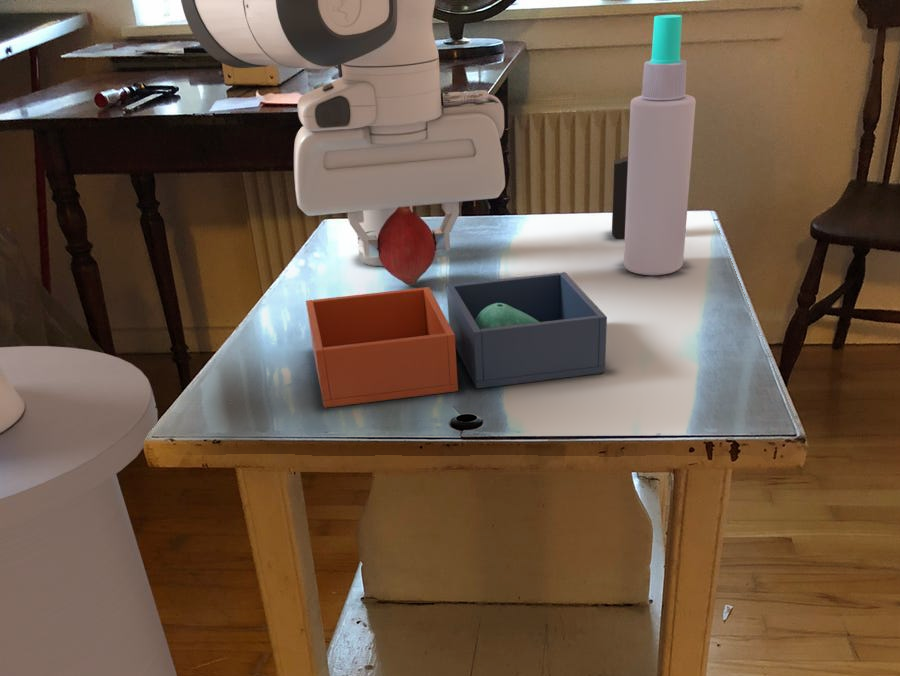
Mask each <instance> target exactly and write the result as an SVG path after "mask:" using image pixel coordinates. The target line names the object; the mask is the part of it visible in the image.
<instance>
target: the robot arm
mask: <svg viewBox="0 0 900 676" xmlns="http://www.w3.org/2000/svg"><path fill="white" fill-rule="evenodd" d="M180 3H181V6H182V10H183V14H184V17H185V20H186V22H187V25H188V27H189V29H190V31H191V33H192V34H193V36H194V38H195V39H196V41H197V42H198V44H199V45H200V46H201V47H202V48H203V50H204V51H205V52H206V53H208V55H209V56H211V57H212V58H213V59H215V60H216V61H218V62H219V63H221V64H222V65H225V66H228V67H230V68H231V67H232V68H236V69H251V68H265V67H276V68H285V69H286V68H287V69H309V70H328V69H331V68H335V67H338V65H341V67H342V75H343V76H342V77H341V78H340V77H338V78H336V79H335V80H333V81H331V82H329V83H326V84H323V85H321V86H319V87H318V88H315V89H312V90H310V91H308V92H306V93H304V94H303V95H301V96H300V97H299V99H298V101H297V116H298V119H299V121H300V123H301V125H302V126H301V127H300V129H299V130H298V131H297V132H296V135H295V139H294V144H293V145H294V147H293V178H294V190H295V199H296V205H297V207H298V209H300V210H301V212H303V214H305V215H306V216H308V217H312V216H313V217H314V216H322V215H333V214H334V215H335V214H343V213H346V214H347V220H348V222H349V225H350V226H351V228H352V229H353V230H354V232H355V234H356V236H357V235H358V236H359V238H360V239H361V241H362V249H363V255H364V258H374V257H379V250H378V249H377V248H378V239H377V238H376V235H369V236H368V235H367V234H366V232H365V231H364V229H363V228H362V226H361V225H360V224H359V223H363V222H364V217H363V211H366V210H376V209H387V208H397V207H408V206H412V207H418V206H427V205H428V206H429V205H438V204H441V209H442V211H443V212H444V213H445V215H444V218H443V219H442V222H441V224H440V227H439V228H433V229H431V231H432V234H433V236H434V240H435V252H442V251H450V250H451V240H450V239H451V237H450V233H451V232H452V231H453V228H454V226H455V224H456V222H457V219H458V218H459V215H460V203H461V202H471V201H480V200H481V201H482V200H492V199H497V198H499V197H500V195H501V194H502V192H503V191H504V189H505V187H506V175H505V165H504V156H503V150H502V145H501V140H500V139H502V137H503V135H504V132H505V109H504V105H503V103H502V102H501V100H500V99H499V98H498V97H497V96H495V95H493V94H489V91H488V90H484V89H478V90H477V89H476V90H473V91H466V92H465V91H452V92H442V89H441V72H440V57H439V56H440V55H439V50H438V47H437V43H436V40H435V36H434V28H433V18H434V11H435V6H436V0H180ZM489 100H490V101H492V102H489ZM24 409H25V403H24V401H23V399H22V398H21V397H20V395H19V394H18V393H17V391H16V390H15V389H14V387H13V386H12V384H11V383H10V381H9V380H8V378H7V377H6V375H5V373H4V372H3V370H2V369H1V367H0V433H1V432H3V431H5V430H6V429H8V428H9V427H10V426H12V425H13V424H14V423H15V422H16V421H17V420H18V419H19V418H20V417H21V415H22V414H23V412H24Z"/></svg>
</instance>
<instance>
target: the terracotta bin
mask: <svg viewBox="0 0 900 676" xmlns="http://www.w3.org/2000/svg"><path fill="white" fill-rule="evenodd" d="M305 305H306V311H307V318H308V325H309V331H310V338H311V344H312V352H313V356H314V362H315V367H316V372H317V377H318V378H317V379H318V382H319V388H320V393H321V399H322V404H323V408H325V409H326V408H333V407H334V408H335V407H342V406H350V405H357V404H366V403H367V404H368V403H375V402H382V401H390V400H398V399H406V398H413V397H422V396H429V395H431V396H432V395H437V394H445V393H454V392H459V385H458V365H457V353H456V352H457V349H456V348H455V335H454V333H453V331H452V329H451V327H450V325H449V321H448V320H447V318H446V316H445V314H444V312H443V310H442V308H441V306H440V304H439V303H438V301H437V299H436V297H435V295H434V294H433V292H432V290H431V288H430V287H429V286H426V287H425V286H424V287H418V288H417V287H416V288H407V289H400V290H389V291H381V292H380V291H379V292H372V293H363V294H362V293H361V294H354V295H345V296H344V295H343V296H335V297H326V298H317V299H307V300H305Z"/></svg>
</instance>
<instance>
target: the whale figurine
mask: <svg viewBox="0 0 900 676" xmlns="http://www.w3.org/2000/svg"><path fill="white" fill-rule="evenodd" d="M475 322H476V324H477V326H478V327H479V329H486V328H495V327H503V326H512V325H520V324H529V323H537V322H539V321H537V320H536V319H534V318H533V317H531V316H529V315H527V314H525V313H523V312H521V311H519V310H517V309H515V308H513V307H511V306H509V305H507V304H503V303H495V304H491V305H489V306H487V307H486V308H484V309H483V310H482V311H481V312H480V313H479V314H478V316H477V318H476V320H475Z"/></svg>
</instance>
